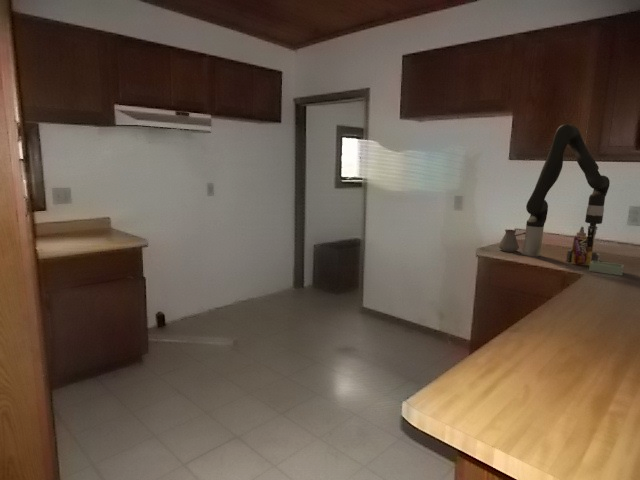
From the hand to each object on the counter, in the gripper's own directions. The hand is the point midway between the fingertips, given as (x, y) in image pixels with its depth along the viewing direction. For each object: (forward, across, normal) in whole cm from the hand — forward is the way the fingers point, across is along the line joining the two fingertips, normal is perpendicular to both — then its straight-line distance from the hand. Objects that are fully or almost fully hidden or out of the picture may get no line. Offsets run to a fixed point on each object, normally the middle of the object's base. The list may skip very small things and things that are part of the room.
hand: (589, 246), depth 225 cm
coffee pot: (+11, -13, -38) cm, 41 cm away
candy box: (+10, 0, -3) cm, 11 cm away
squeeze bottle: (+11, -23, -7) cm, 26 cm away
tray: (+11, +9, +9) cm, 16 cm away
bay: (+11, -6, -3) cm, 13 cm away
